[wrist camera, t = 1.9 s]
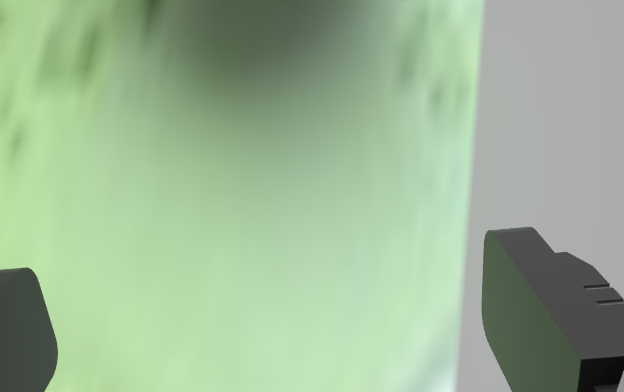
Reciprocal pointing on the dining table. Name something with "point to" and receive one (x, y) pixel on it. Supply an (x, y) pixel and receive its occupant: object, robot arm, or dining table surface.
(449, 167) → the dining table surface
